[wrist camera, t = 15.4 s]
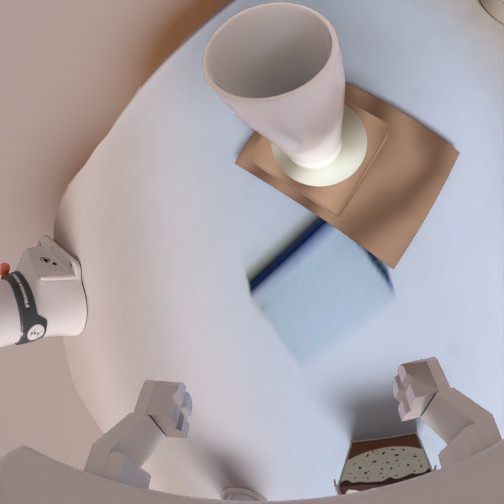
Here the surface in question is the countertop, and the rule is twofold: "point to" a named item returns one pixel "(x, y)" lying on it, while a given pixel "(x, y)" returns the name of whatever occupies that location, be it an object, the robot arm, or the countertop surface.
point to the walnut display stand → (365, 175)
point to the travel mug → (494, 8)
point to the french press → (241, 495)
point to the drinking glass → (282, 78)
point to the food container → (382, 463)
